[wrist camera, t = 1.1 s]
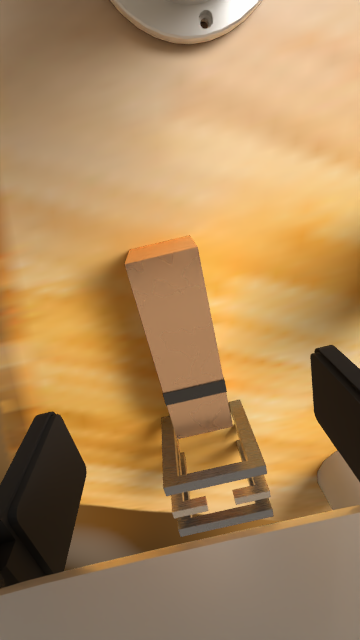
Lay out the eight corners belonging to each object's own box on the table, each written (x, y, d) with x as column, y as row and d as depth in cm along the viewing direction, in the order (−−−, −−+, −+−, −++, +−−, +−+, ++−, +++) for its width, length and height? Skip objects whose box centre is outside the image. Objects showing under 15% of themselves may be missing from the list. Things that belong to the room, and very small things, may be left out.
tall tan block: (129, 249, 25) (123, 264, 21) (190, 235, 25) (198, 247, 21) (173, 402, 32) (176, 440, 27) (222, 391, 32) (233, 427, 27)
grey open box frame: (161, 417, 33) (163, 488, 25) (240, 399, 32) (265, 465, 25) (175, 461, 35) (180, 536, 28) (247, 444, 35) (273, 516, 28)
